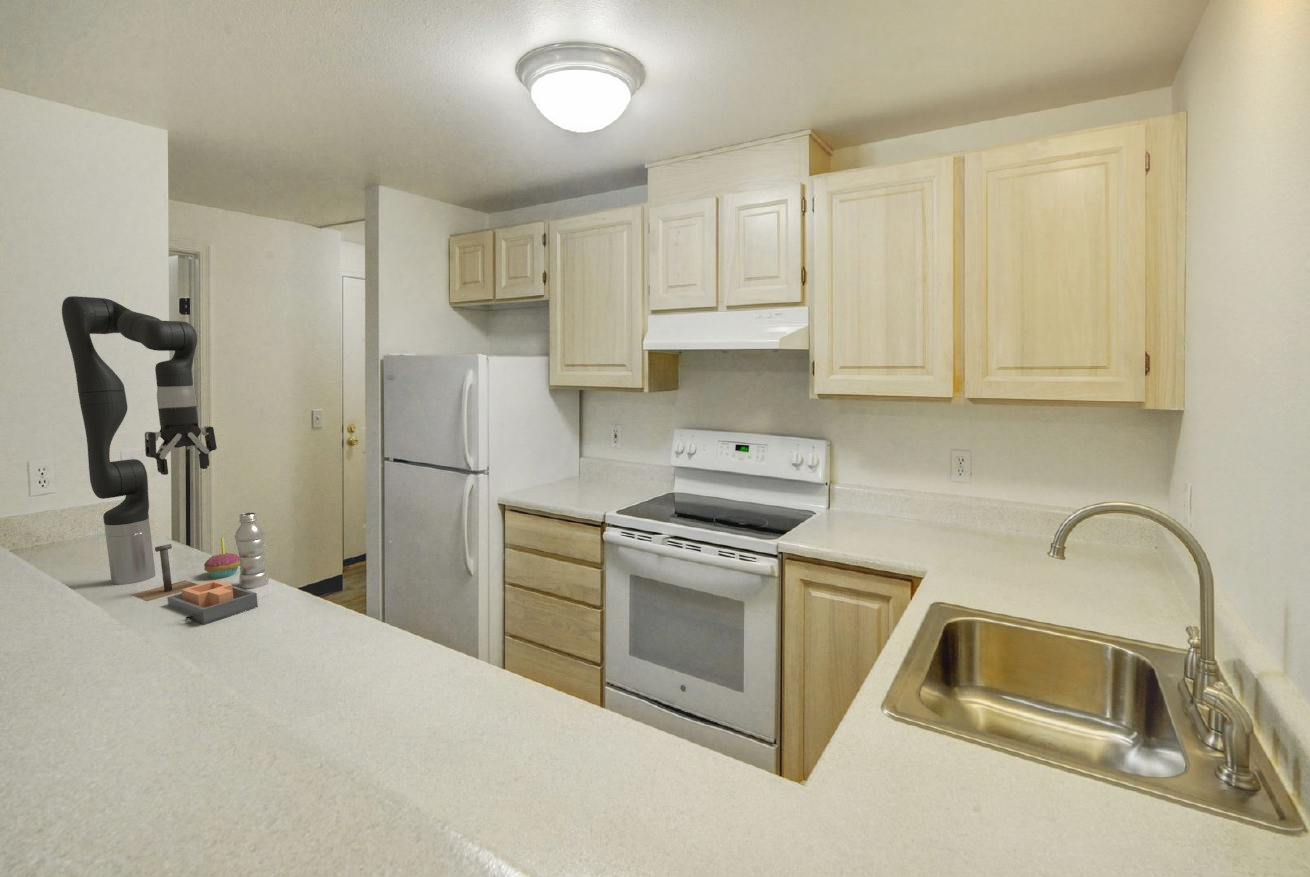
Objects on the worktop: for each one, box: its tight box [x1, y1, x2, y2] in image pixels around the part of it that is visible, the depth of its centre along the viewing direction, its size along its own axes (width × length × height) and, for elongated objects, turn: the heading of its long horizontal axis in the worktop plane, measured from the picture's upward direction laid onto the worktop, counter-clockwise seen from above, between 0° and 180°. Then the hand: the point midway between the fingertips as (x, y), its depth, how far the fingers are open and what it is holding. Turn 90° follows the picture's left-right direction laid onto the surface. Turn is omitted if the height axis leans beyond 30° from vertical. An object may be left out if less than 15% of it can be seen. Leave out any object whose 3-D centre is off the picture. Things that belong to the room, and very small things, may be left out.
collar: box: [181, 579, 235, 608], centre depth 155 cm, size 12×8×4 cm, turn 60°
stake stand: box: [131, 543, 199, 602], centre depth 164 cm, size 9×12×13 cm
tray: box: [166, 585, 259, 626], centre depth 155 cm, size 16×12×4 cm
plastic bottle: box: [234, 512, 270, 590], centre depth 167 cm, size 6×7×20 cm
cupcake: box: [203, 534, 240, 579], centre depth 176 cm, size 9×8×12 cm
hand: (184, 471), depth 159 cm, fingers open, 8 cm apart
